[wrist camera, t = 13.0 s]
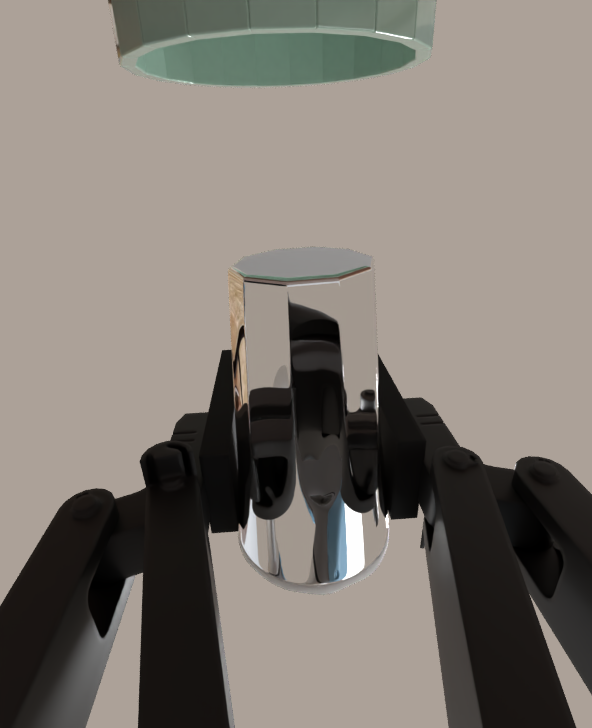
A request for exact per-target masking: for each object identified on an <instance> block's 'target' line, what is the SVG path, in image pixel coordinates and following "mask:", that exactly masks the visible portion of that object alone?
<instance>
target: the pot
mask: <svg viewBox="0 0 592 728" xmlns="http://www.w3.org/2000/svg"><path fill="white" fill-rule="evenodd" d="M108 4H109V9H110V15H111V21H112V26H113V32H114V37H115V43H116V48H117V54H118V59H119V64H120V66H121V67H123V68H124V69H126V70H127V71H129V72H131V73H132V74H134V75H138V76H141V77H145V78H149V79H153V80H157V81H163V82H170V83H177V84H185V85H195V86H210V87H237V88H238V87H239V88H256V87H257V88H265V87H291V86H292V87H294V86H309V85H321V84H322V85H323V84H333V83H340V82H349V81H357V80H363V79H369V78H374V77H379V76H385V75H389V74H393V73H396V72H400V71H403V70H407V69H410V68H413V67H415V66H417V65H419V64H421V63H422V62H424V61H426V60H428V59H429V58H430V57H431V51H432V44H433V33H434V22H435V11H436V0H108Z"/></svg>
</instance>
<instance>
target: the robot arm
mask: <svg viewBox="0 0 592 728" xmlns="http://www.w3.org/2000/svg"><path fill="white" fill-rule="evenodd" d="M378 374H379V400H380V422H381V437H382V446H383V455H384V466H385V478H386V491H387V505H388V512H389V515H390V517H391V519H406V518H417V514H418V506H419V504H420V506H421V509H422V511H423V513H424V522H423V530H422V538H421V545H420V548H424V547H425V549H426V557H427V565H428V573H429V581H430V588H431V595H432V603H433V611H434V619H435V626H436V634H437V641H438V649H439V657H440V664H441V672H442V680H443V686H444V695H445V702H446V710H447V717H448V725H449V728H576V726H575V723H574V720H573V717H572V714H571V712H570V709H569V706H568V703H567V700H566V697H565V694H564V692H563V689H562V686H561V683H560V680H559V678H558V675H557V672H556V669H555V666H554V663H553V660H552V658H551V655H550V652H549V649H548V646H547V643H546V640H545V638H544V635H543V632H542V629H541V626H540V623H539V621H538V618H537V615H536V612H535V609H534V607H533V603H532V601H531V598H530V595H531V597H532V598H533V600H534V602H535V603H536V605H537V607H538V608H539V610H540V612H541V613H542V615H543V616H544V618H545V619H546V621H547V623H548V625H549V626H550V628H551V629H552V631H553V632H554V634H555V636H556V637H557V639H558V641H559V642H560V644H561V646H562V647H563V649H564V650H565V652H566V654H567V655H568V657H569V659H570V660H571V662H572V663H573V665H574V667H575V668H576V670H577V671H578V673H579V675H580V676H581V678H582V680H583V681H584V683H585V684H586V686H587V688H588V689H589V691H590V693H591V694H592V494H591V493H590V492H589V491H588V490H587V489H586V488H585V487H584V486H583V485H582V484H581V483H580V482H579V481H578V480H577V479H576V478H575V477H574V476H573V475H572V474H571V473H570V472H569V471H568V470H567V469H565V468H564V467H563V466H562V465H560V464H558V463H556V462H554V461H552V460H550V459H546V458H542V457H530V456H529V457H525V458H521V459H520V460H519V461H517V462H516V466H515V470H513V469H505V468H499V467H493V466H488V465H485V464H483V462H482V460H481V459H480V457H479V456H478V455H476V454H475V453H474V452H472V451H470V450H468V449H466V448H463V447H460V446H459V445H458V443H457V442H456V440H455V439H454V437H453V435H452V434H451V432H450V431H449V429H448V428H447V426H446V425H445V423H443V420H442V419H441V417H440V416H439V414H438V413H437V411H436V410H435V408H434V407H433V405H432V404H430V403H429V402H427V401H425V400H424V399H423V398H407V399H403V398H402V396H401V394H400V392H399V391H398V389H397V387H396V385H395V384H394V382H393V380H392V378H391V376H390V375H389V373H388V371H387V369H386V367H385V366H384V364H383V362H382V360H381V358H380V357H379V355H378ZM140 464H141V468H142V472H143V476H144V480H145V484H146V488H144V489H142V490H141V491H139V492H136V493H133V494H131V495H127V496H123V497H120V498H117V499H115V498H114V496H113V494H112V493H111V492H110V491H108V490H105V489H97V488H96V489H91V490H85V491H83V492H80V493H78V494H76V495H74V496H72V497H71V498H70V499H68V500H67V501H66V502H65V503H64V504H63V505H62V506H61V507H60V508H59V510H58V511H57V513H56V515H55V517H54V518H53V520H52V521H51V523H50V525H49V527H48V528H47V530H46V531H45V533H44V535H43V536H42V538H41V540H40V541H39V543H38V545H37V546H36V548H35V550H34V551H33V553H32V555H31V556H30V558H29V559H28V561H27V563H26V564H25V566H24V568H23V569H22V571H21V573H20V575H19V576H18V578H17V579H16V581H15V582H14V584H13V586H12V588H11V589H10V591H9V593H8V594H7V596H6V597H5V599H4V601H3V603H2V604H1V606H0V728H85V727H86V724H87V721H88V718H89V715H90V712H91V709H92V706H93V703H94V700H95V697H96V694H97V691H98V688H99V685H100V682H101V679H102V676H103V672H104V669H105V667H106V664H107V660H108V657H109V654H110V651H111V648H112V645H113V642H114V639H115V636H116V633H117V630H118V627H119V624H120V621H121V618H122V615H123V612H124V608H125V605H126V603H127V600H128V597H129V594H130V591H131V588H132V585H133V581H134V578H135V575H137V574H139V573H143V596H142V625H141V655H140V685H139V715H138V728H235V725H234V718H233V710H232V703H231V696H230V689H229V681H228V674H227V666H226V659H225V652H224V645H223V638H222V631H221V623H220V615H219V608H218V601H217V593H216V587H215V579H214V571H213V564H212V557H211V550H210V543H209V537H208V530H209V524H210V526H211V531H212V533H221V532H233V531H234V532H235V531H239V511H238V463H237V442H236V424H235V405H234V385H233V365H232V350H222V354H221V358H220V363H219V367H218V372H217V376H216V381H215V385H214V389H213V394H212V398H211V403H210V408H209V412H207V413H206V412H205V413H190V414H185V415H184V416H183V417H182V418H181V419H180V420H179V421H178V422H177V423H176V425H175V428H174V431H173V435H172V437H171V440H170V441H166V442H162V443H159V444H156V445H154V446H153V447H151V448H149V449H148V450H147V451H146V452H145V453H144V454H143V455H142V457H141V460H140ZM529 594H530V595H529Z"/></svg>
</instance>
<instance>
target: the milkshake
mask: <svg viewBox="0 0 592 728" xmlns="http://www.w3.org/2000/svg"><path fill="white" fill-rule="evenodd" d="M374 271H375V269H374V259H373V257H372V256H369V255H366V254H363V253H360V252H357V251H353V250H350V249H343V248H342V249H341V248H325V247H302V248H290V249H276V250H271V251H267V252H263V253H259V254H254V255H250V256H246V257H243V258H241V259H240V260H239V261H238V262H237V263H235V264H234V265H233V266H231V267H230V268H229V270H228V283H229V284H228V285H229V306H230V326H231V344H232V365H233V385H234V405H235V424H236V442H237V463H238V511H239V531H238V538H239V545H240V548H241V551H242V553H243V556H244V557H245V559H246V561H247V562H248V563H249V564H250V566H251V567H252V568H254V570H255V571H257V572H258V573H259V574H260V575H261V576H263V577H264V578H265V579H266V580H268V581H269V582H271V583H272V584H274V585H277V586H278V587H281V588H283V589H286V590H289V591H294V592H301V593H308V594H319V595H325V594H331V593H335V592H337V591H340V590H342V589H344V588H346V587H348V586H351V585H353V584H355V583H357V582H359V581H362V580H363V579H365V578H367V577H368V576H370V575H371V574H372V573H373V572H374V571H375V570H376V569H377V567H378V566H379V564H380V563H381V561H382V559H383V557H384V555H385V552H386V549H387V545H388V540H389V519H388V505H387V491H386V478H385V466H384V455H383V446H382V437H381V422H380V400H379V374H378V348H377V322H376V296H375V295H376V294H375V272H374Z"/></svg>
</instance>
